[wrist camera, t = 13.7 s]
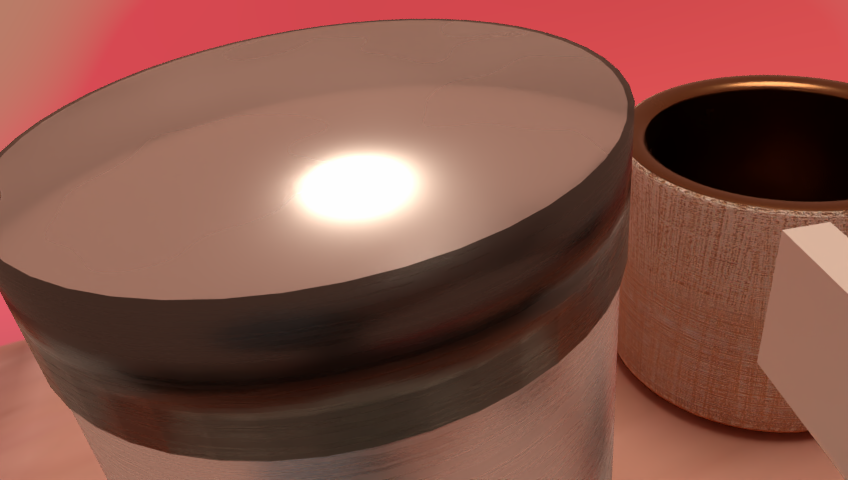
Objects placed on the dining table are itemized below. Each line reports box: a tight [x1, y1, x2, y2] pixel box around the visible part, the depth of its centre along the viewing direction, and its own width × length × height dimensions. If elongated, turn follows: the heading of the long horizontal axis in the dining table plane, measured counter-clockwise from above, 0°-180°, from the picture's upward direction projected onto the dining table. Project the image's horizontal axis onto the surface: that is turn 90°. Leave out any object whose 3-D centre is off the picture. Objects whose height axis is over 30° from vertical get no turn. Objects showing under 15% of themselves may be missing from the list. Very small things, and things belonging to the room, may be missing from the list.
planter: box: [617, 75, 848, 433], centre depth 27 cm, size 11×11×10 cm
